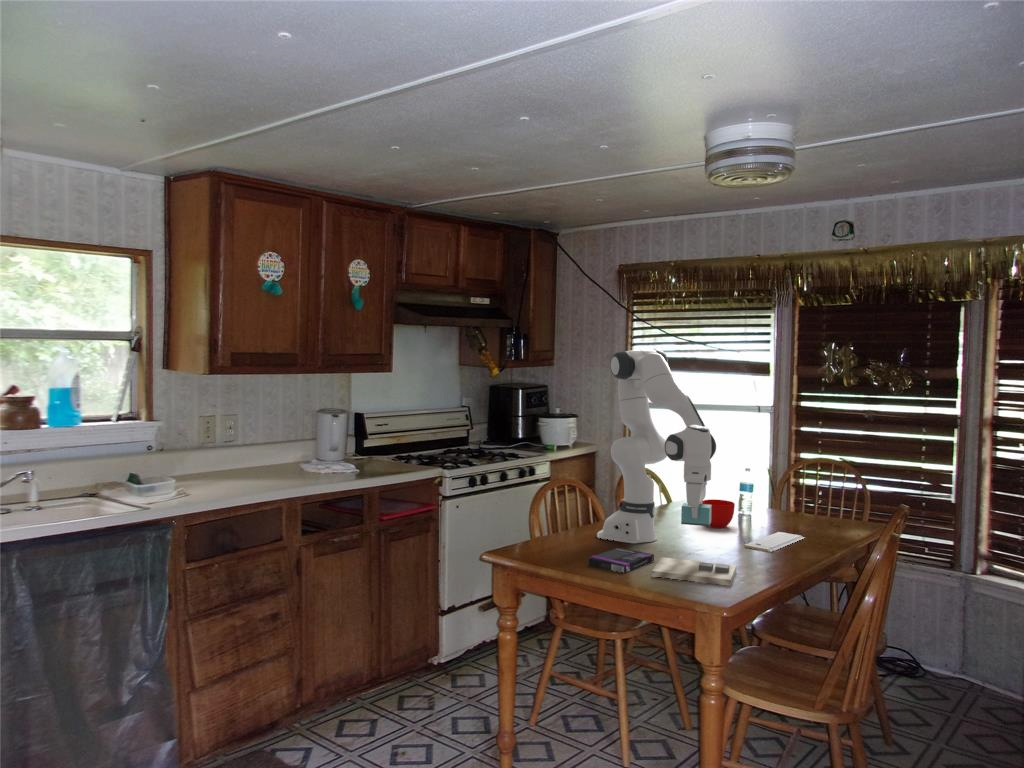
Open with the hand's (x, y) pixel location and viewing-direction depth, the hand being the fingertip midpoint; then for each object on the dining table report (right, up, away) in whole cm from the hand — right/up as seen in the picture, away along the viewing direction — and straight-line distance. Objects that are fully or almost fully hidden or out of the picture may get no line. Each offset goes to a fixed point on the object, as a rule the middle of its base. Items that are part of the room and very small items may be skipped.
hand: (696, 515), depth 265 cm
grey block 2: (+5, -15, -15) cm, 22 cm away
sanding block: (0, -3, 0) cm, 3 cm away
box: (-25, -17, 0) cm, 30 cm away
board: (-3, -17, -11) cm, 21 cm away
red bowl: (+23, -15, +62) cm, 68 cm away
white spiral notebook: (+38, -17, +33) cm, 53 cm away
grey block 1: (0, -15, -13) cm, 20 cm away
